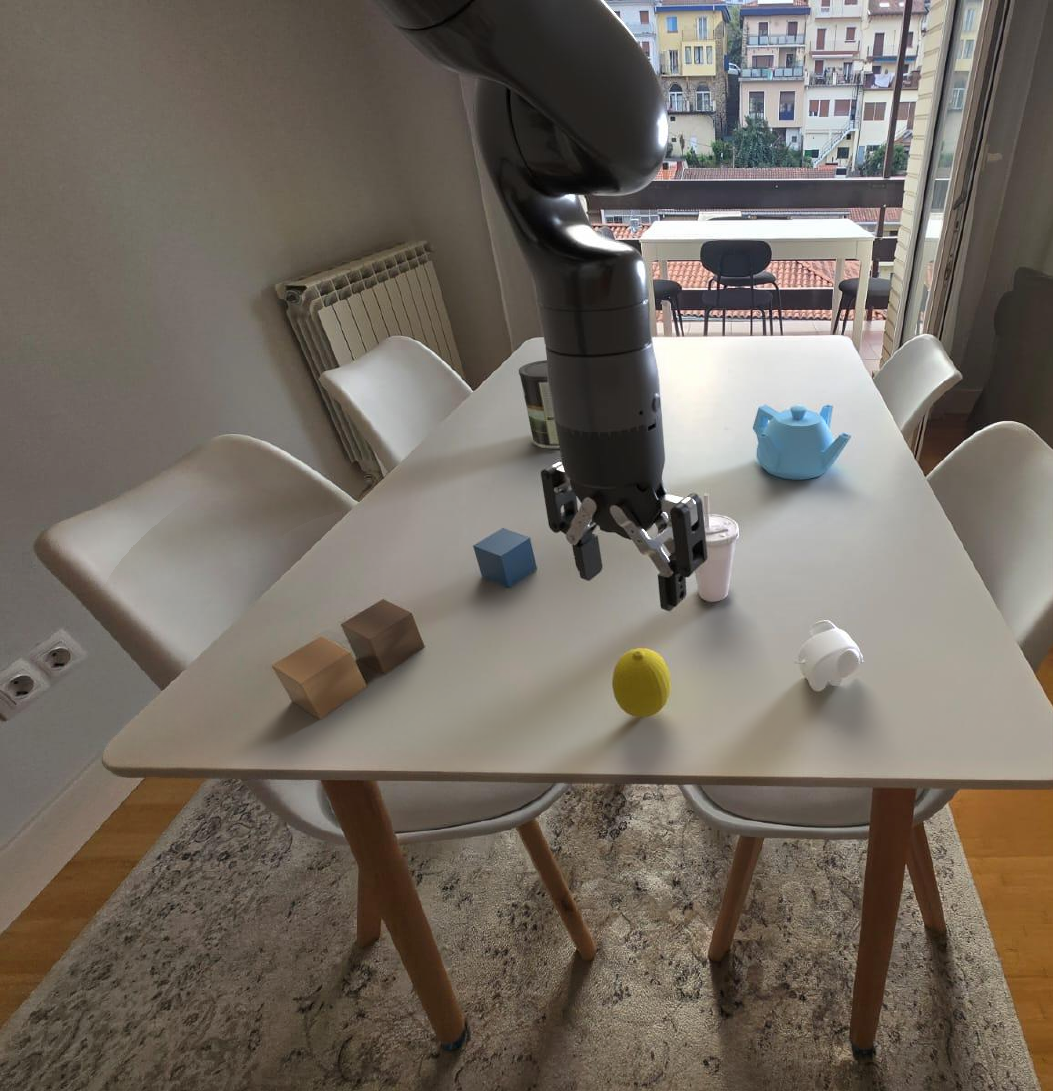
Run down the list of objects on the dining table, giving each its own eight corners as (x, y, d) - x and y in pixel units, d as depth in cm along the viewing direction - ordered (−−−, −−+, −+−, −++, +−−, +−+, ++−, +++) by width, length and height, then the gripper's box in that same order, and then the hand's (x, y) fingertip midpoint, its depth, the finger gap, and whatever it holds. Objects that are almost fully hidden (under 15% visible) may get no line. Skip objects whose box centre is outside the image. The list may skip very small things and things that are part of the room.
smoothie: (693, 575, 78) (688, 480, 71) (741, 579, 78) (742, 483, 70) (683, 606, 73) (677, 506, 65) (735, 610, 72) (735, 510, 65)
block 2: (384, 674, 64) (369, 639, 61) (356, 658, 66) (340, 624, 63) (425, 646, 67) (411, 612, 65) (396, 632, 70) (383, 598, 67)
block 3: (508, 588, 76) (500, 556, 74) (481, 577, 79) (472, 545, 76) (537, 568, 80) (530, 537, 77) (510, 558, 82) (502, 527, 80)
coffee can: (524, 448, 114) (509, 375, 106) (543, 428, 122) (530, 359, 115) (576, 450, 113) (565, 376, 105) (592, 429, 121) (582, 360, 114)
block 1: (320, 719, 59) (299, 683, 56) (291, 700, 61) (270, 665, 58) (367, 686, 62) (350, 651, 60) (338, 670, 64) (321, 635, 62)
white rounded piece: (876, 690, 61) (884, 647, 58) (806, 712, 59) (810, 668, 56) (843, 648, 67) (848, 606, 63) (778, 666, 64) (780, 624, 61)
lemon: (670, 734, 57) (665, 674, 52) (612, 734, 57) (602, 674, 53) (675, 691, 61) (670, 632, 57) (622, 691, 62) (613, 632, 57)
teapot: (831, 447, 113) (837, 391, 107) (847, 483, 100) (853, 422, 94) (751, 448, 113) (752, 393, 107) (756, 485, 100) (757, 424, 94)
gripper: (495, 407, 42) (537, 588, 51) (660, 446, 36) (675, 644, 45) (568, 378, 48) (595, 546, 57) (721, 407, 42) (724, 590, 51)
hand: (630, 589), depth 51 cm, fingers open, 8 cm apart
